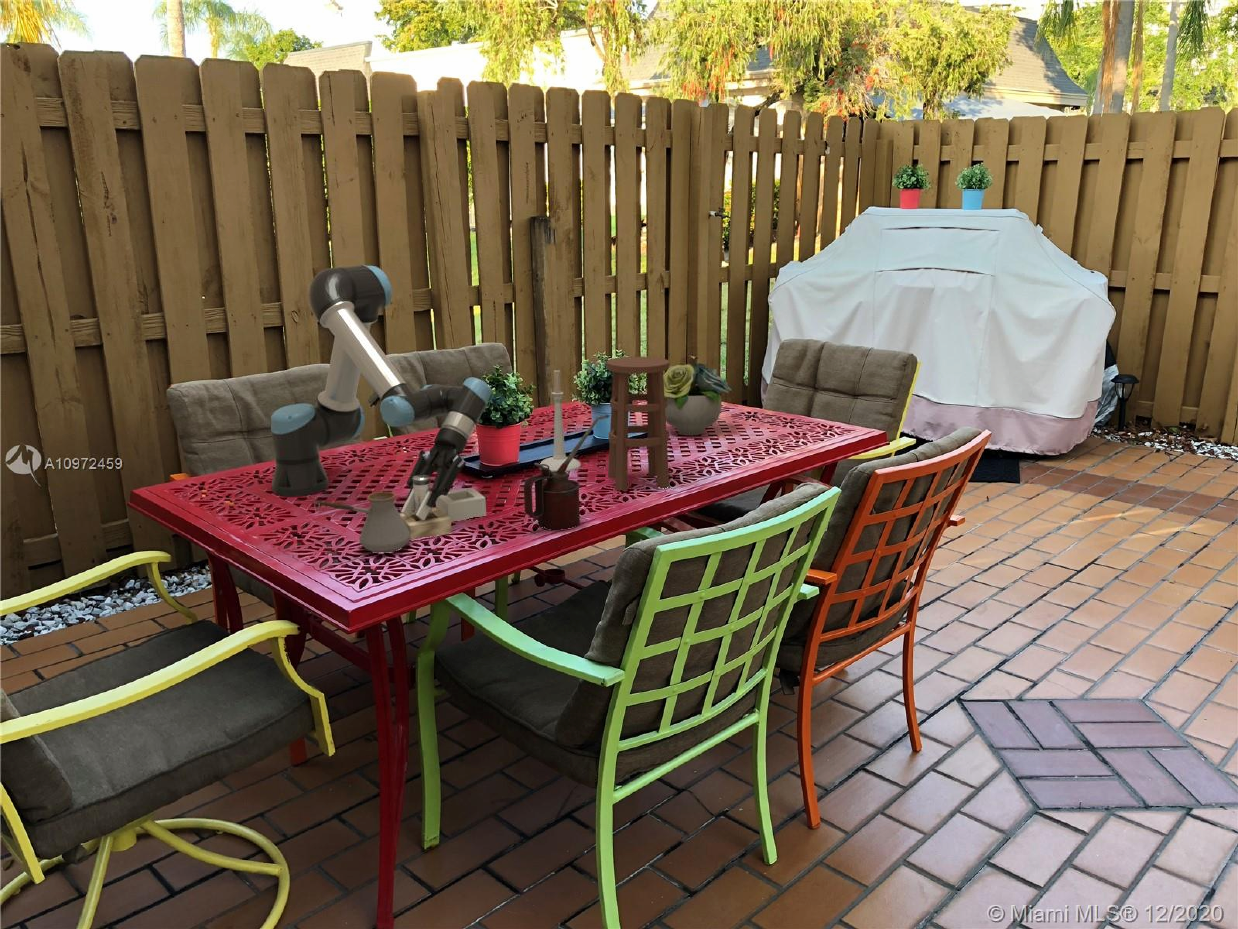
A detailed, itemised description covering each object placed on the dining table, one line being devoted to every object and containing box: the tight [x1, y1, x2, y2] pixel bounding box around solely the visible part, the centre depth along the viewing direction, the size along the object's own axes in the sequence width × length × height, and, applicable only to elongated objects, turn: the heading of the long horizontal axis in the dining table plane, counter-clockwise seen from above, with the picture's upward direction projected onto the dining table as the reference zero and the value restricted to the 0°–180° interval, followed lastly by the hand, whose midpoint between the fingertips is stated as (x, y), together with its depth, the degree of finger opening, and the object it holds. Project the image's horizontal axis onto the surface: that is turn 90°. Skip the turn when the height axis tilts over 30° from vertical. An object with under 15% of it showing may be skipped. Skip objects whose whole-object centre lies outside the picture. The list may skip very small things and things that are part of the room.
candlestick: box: [539, 369, 582, 473], centre depth 265 cm, size 13×13×30 cm
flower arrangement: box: [663, 362, 733, 436], centre depth 304 cm, size 25×25×24 cm
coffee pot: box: [313, 491, 410, 552], centre depth 200 cm, size 21×12×15 cm, turn 131°
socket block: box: [399, 506, 452, 541], centre depth 215 cm, size 10×10×4 cm
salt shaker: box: [412, 475, 433, 522], centre depth 213 cm, size 4×4×14 cm
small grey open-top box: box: [435, 487, 487, 522], centre depth 227 cm, size 10×10×5 cm
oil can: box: [523, 414, 611, 531], centre depth 220 cm, size 28×11×25 cm, turn 136°
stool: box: [605, 356, 670, 491], centre depth 247 cm, size 20×35×20 cm
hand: (412, 516), depth 211 cm, fingers closed on salt shaker, 4 cm apart
